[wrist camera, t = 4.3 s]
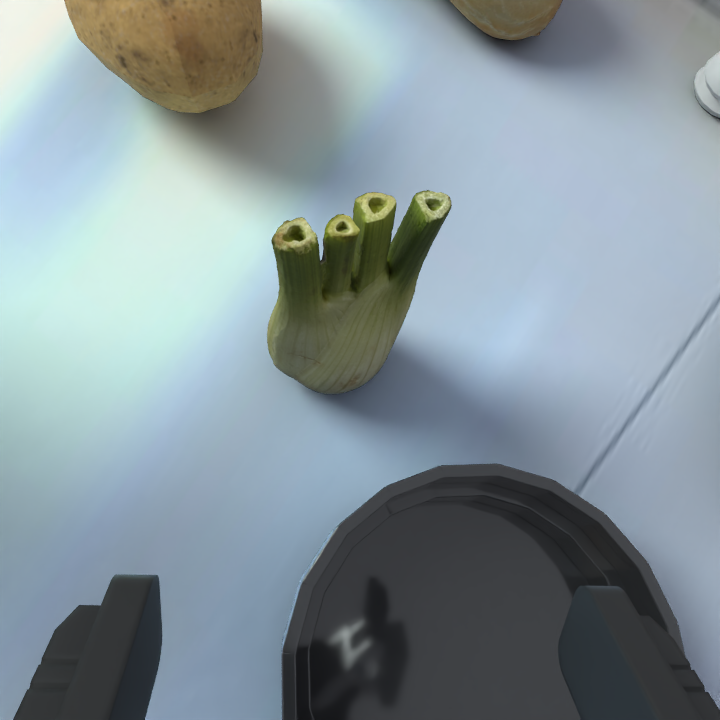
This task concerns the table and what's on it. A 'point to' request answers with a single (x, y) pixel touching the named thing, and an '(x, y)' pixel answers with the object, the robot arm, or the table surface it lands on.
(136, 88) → the potato
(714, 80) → the rook chess piece
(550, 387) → the table surface
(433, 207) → the fennel bulb
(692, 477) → the table surface
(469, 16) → the bread roll
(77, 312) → the table surface
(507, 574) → the pan
